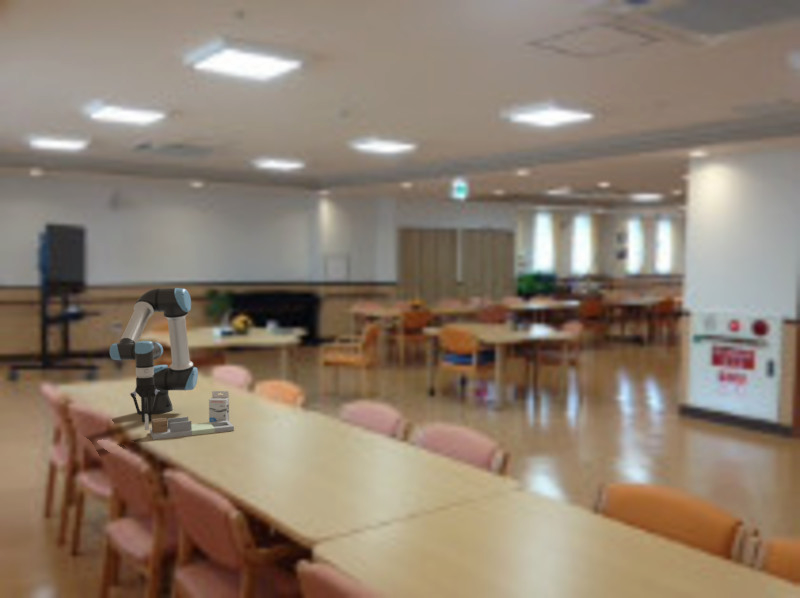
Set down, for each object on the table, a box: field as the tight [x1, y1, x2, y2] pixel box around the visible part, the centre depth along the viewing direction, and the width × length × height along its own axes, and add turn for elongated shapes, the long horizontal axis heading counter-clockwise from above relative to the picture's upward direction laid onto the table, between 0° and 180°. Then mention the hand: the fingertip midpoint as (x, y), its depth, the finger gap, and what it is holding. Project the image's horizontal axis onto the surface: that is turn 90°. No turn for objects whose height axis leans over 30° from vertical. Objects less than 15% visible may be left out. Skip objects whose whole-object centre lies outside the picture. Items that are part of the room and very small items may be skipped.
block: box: [151, 417, 168, 433], centre depth 321 cm, size 6×6×5 cm
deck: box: [149, 416, 235, 440], centre depth 327 cm, size 13×35×6 cm, turn 115°
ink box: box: [208, 390, 230, 422], centre depth 344 cm, size 9×5×15 cm, turn 84°
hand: (146, 429), depth 319 cm, fingers closed
